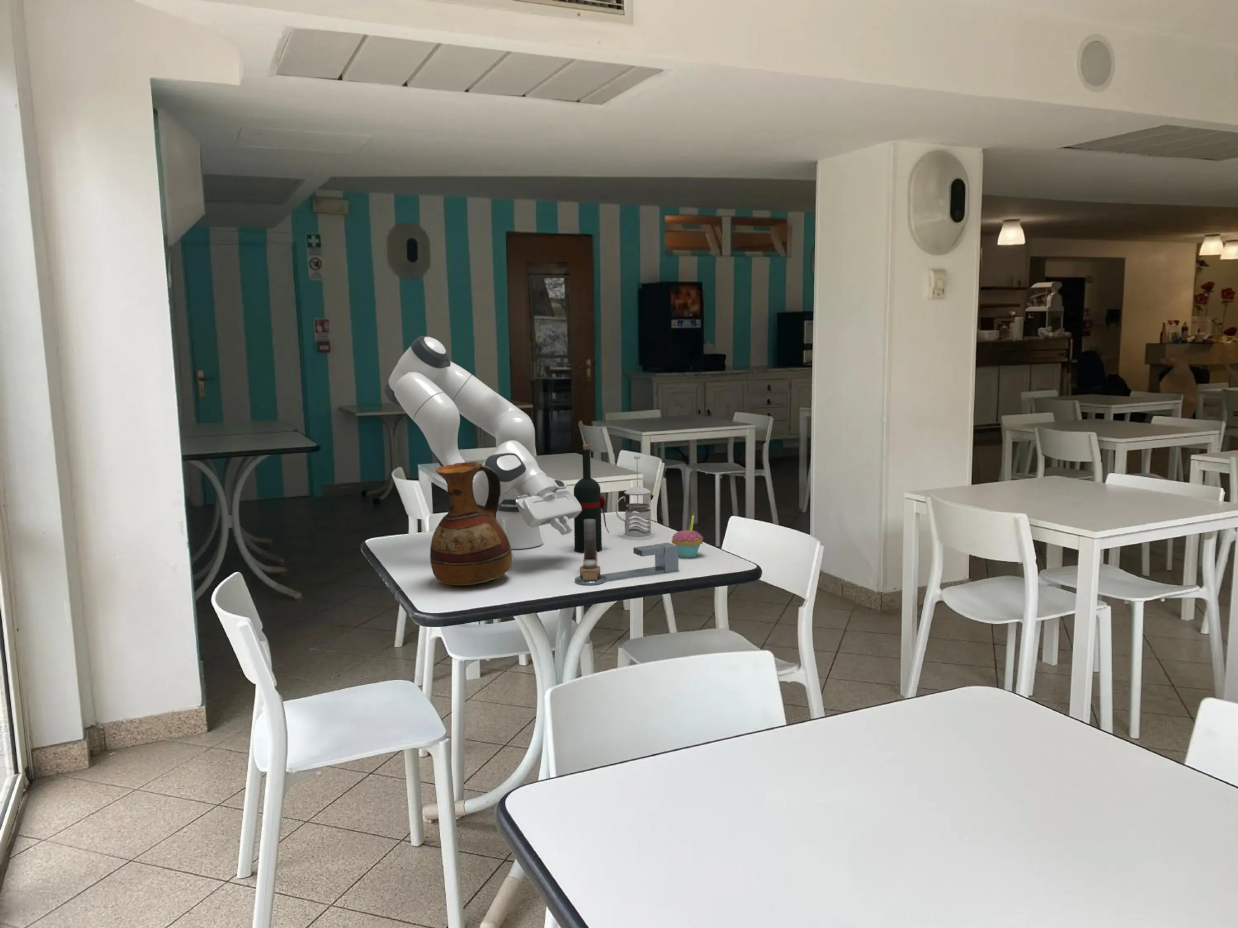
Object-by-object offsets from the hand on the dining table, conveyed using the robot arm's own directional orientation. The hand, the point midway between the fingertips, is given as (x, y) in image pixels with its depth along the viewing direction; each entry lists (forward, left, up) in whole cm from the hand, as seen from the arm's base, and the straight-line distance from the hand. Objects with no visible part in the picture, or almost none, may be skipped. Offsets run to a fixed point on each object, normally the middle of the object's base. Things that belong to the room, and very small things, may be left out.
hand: (567, 532), depth 242 cm
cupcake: (+20, +28, -10) cm, 36 cm away
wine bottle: (-7, +21, -10) cm, 24 cm away
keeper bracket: (+18, +1, -9) cm, 20 cm away
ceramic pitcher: (-13, -23, -10) cm, 28 cm away
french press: (-6, +42, -10) cm, 43 cm away
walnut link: (+9, -2, -8) cm, 12 cm away
